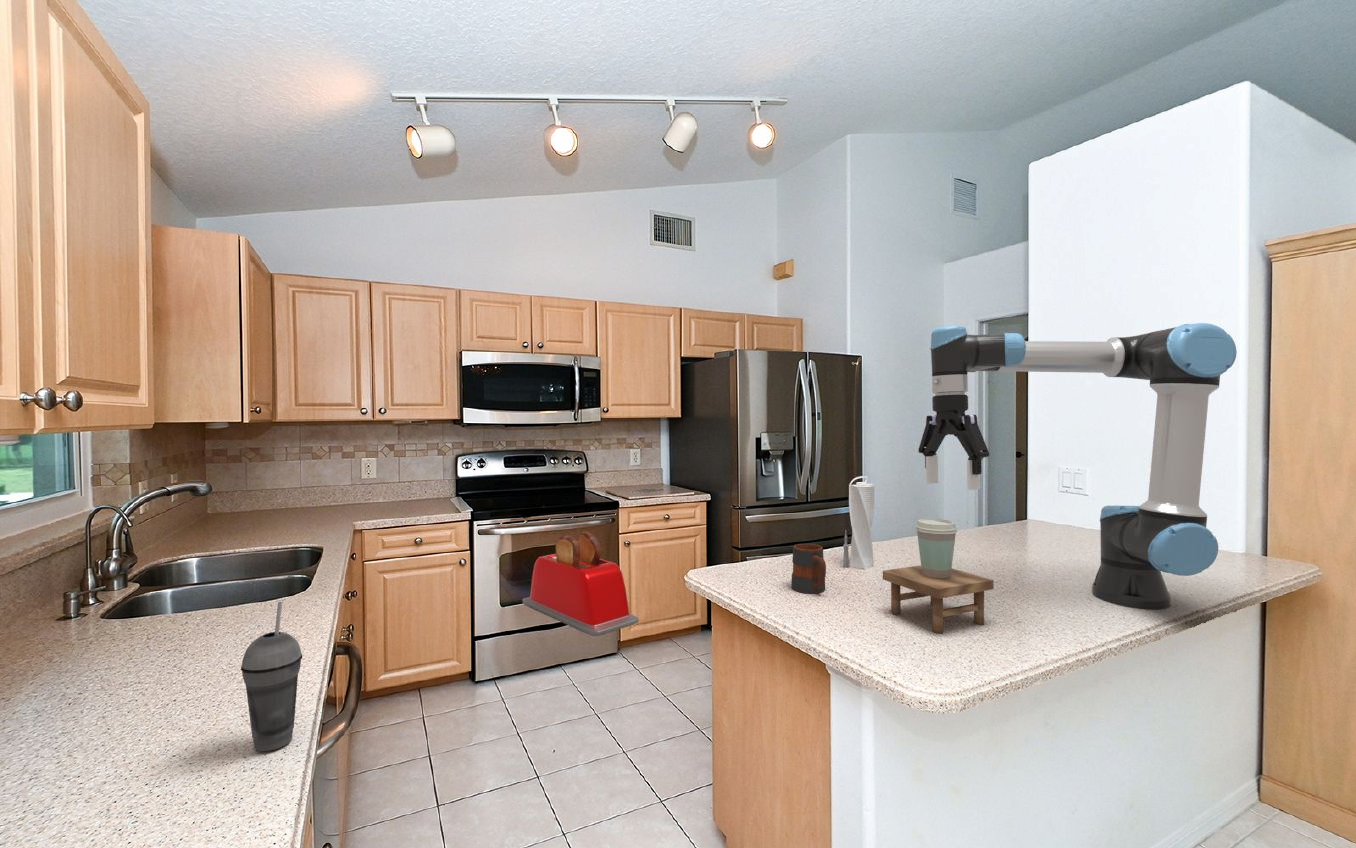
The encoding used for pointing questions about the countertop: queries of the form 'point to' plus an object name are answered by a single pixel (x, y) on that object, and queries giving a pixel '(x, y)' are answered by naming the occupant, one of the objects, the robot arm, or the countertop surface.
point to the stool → (938, 592)
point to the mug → (808, 569)
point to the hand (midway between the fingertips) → (952, 486)
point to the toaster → (580, 587)
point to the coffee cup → (936, 546)
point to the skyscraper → (860, 525)
